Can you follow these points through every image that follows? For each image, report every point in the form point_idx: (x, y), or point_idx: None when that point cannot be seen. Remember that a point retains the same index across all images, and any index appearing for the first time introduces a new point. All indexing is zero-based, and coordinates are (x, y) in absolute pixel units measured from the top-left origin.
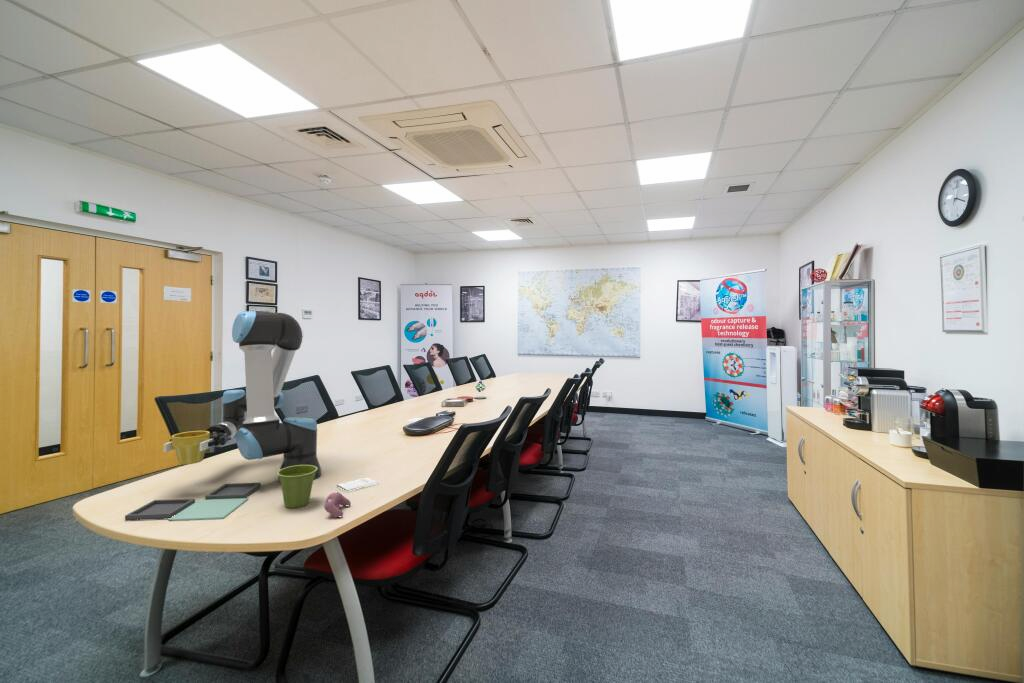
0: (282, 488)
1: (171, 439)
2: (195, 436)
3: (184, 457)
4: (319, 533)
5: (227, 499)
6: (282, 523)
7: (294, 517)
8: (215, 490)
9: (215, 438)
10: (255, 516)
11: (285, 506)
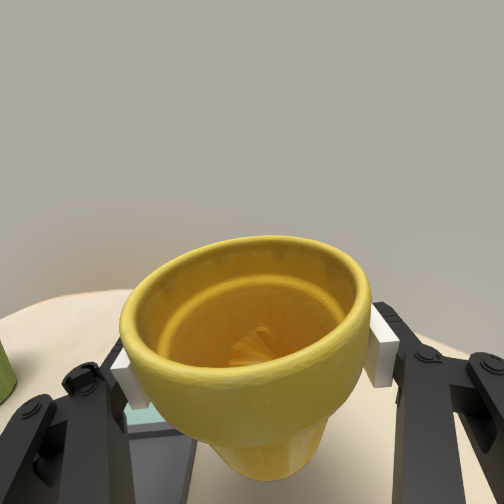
0: (1, 346)
1: (483, 358)
2: (187, 253)
3: (257, 335)
4: (26, 309)
5: (135, 420)
6: (55, 326)
7: (28, 343)
8: (179, 483)
9: (93, 372)
10: (86, 344)
11: (16, 381)
